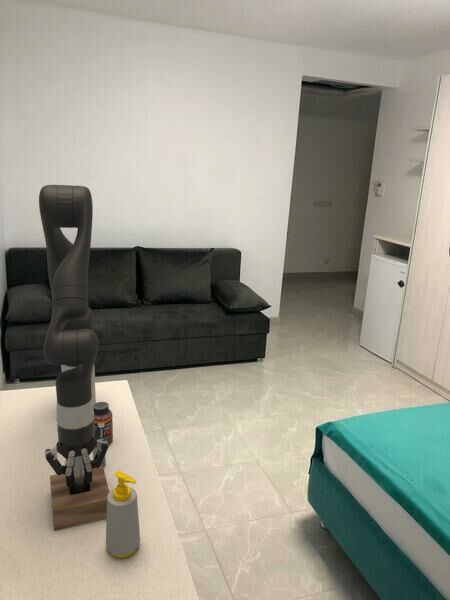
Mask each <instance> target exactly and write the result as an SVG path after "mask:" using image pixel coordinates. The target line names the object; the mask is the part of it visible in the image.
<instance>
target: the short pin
mask: <svg viewBox="0 0 450 600" xmlns="http://www.w3.org/2000/svg"><path fill="white" fill-rule="evenodd" d="M97 450H98V449H97V446H96V447H95V448H94V449H93V451H92V457H93V458H92V460H93V459H94V457H95V455H96V452H97ZM106 460H107V459H106V456H105V457H104V459H103V461H102V463H101V465H103V468H104V467H106ZM101 465H100V466H101Z"/></svg>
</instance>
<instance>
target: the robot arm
mask: <svg viewBox="0 0 450 600" xmlns="http://www.w3.org/2000/svg"><path fill="white" fill-rule="evenodd" d="M38 208H39V214H40V220H41V225H42V229H43V230H42V231H43V234H44V241H45V245H46V246H45V247H46V259H47V273H48V274H47V275H48V279H49V281H48V282H49V287H50V295H51V300H52V301H51V302H52V304H51V305H52V311H51V319H50V323H49V327H48V329H47V331H46V335H45V339H44V343H43V348H42V352H43V357H44V360H45V361H46V362H47V363H48V364H49V365H52V366H60V367H61V372H60V373H58V375H57V376H56V378H55V391H56V393H55V395H56V409H55V413H56V419H55V420H56V426H57V439H58V441H57V443H56V445H55V447H53V448H51V449H50V448H47V449H46V450H44V451H45V456H44V457H45V460H46V462H47V463H48V465H50V467H51V468H52V470H53V471H54V472H55V474H57V475H62V474H64V475H65V476H66V485H67V487H70V489H73V475H72V467H73V461H74V456H80V455H82V456H83V459H84V463H85V466H86V486H87V485H90V482H92V470H93V469H94V468H99V467H100V465H101V463H102V461H103V459H104V457H105V458H106V454H107V452H108V450H109V447H110V446H109V445H108V442H107V439H103V440H102V441H101V440H97V438H96V437H95V433H94V410H93V405H94V404H95V403H97V402H96V401H97V396H96V374H95V361H96V358H97V355H98V351H99V339H98V336H97V334H96V333H95V332H94V314H93V311H92V309H91V307H89V291H88V290H89V286H88V285H89V283H88V281H89V276H88V275H89V266H90V265H89V263H90V254H91V244H92V232H93V218H94V217H93V216H94V215H93V214H94V213H93V209H94V207H93V197H92V193H91V191H90V189H89V188H88V187H87V186H84V185H68V184H47V185H44V186H42V187H41V189H40V190H39V195H38ZM65 228H66V229H72V228H73V229H77V232H76V237H75V240H74V242H73V243H72V242H71V241H70V240H69V239H68V238H67V237H66V235H65V234H64V233H63V231H62V229H65ZM96 446H97V449H98V450H97V452H96V455H95V457H94V459H93V458H92V459H91V458H90V455H91V454H92V453H93V449H94V448H95V447H96ZM58 453H59V454H60V455H61V456H62V457H63V458H64V459H65V462H64V465H63V464H62V463H61V462H60V461H59V459H58Z"/></svg>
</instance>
